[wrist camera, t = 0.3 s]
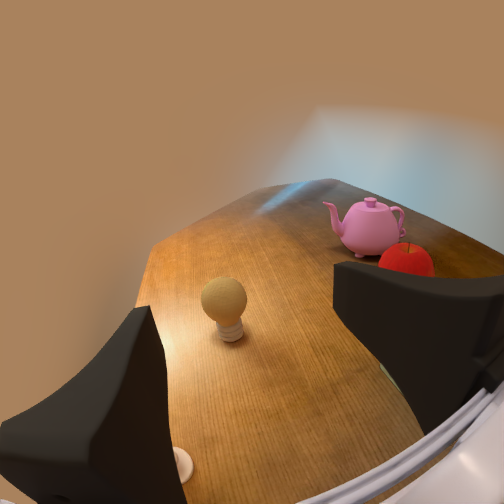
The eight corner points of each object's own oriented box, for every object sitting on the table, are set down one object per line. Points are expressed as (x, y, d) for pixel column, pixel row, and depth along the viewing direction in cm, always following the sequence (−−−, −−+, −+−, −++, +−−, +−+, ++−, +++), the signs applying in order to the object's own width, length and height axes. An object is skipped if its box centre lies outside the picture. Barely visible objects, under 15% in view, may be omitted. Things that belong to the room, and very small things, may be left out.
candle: (189, 444, 25) (155, 390, 21) (198, 483, 21) (161, 440, 16) (146, 451, 24) (102, 399, 20) (151, 490, 19) (100, 447, 15)
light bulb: (250, 320, 45) (242, 266, 41) (254, 347, 39) (245, 289, 35) (211, 325, 45) (198, 272, 41) (210, 352, 39) (194, 296, 35)
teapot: (326, 265, 58) (325, 209, 53) (321, 239, 71) (319, 192, 66) (414, 260, 55) (419, 206, 50) (395, 235, 67) (397, 190, 62)
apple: (435, 312, 39) (449, 245, 34) (398, 333, 37) (412, 261, 32) (400, 287, 47) (407, 226, 42) (363, 303, 45) (368, 237, 40)
